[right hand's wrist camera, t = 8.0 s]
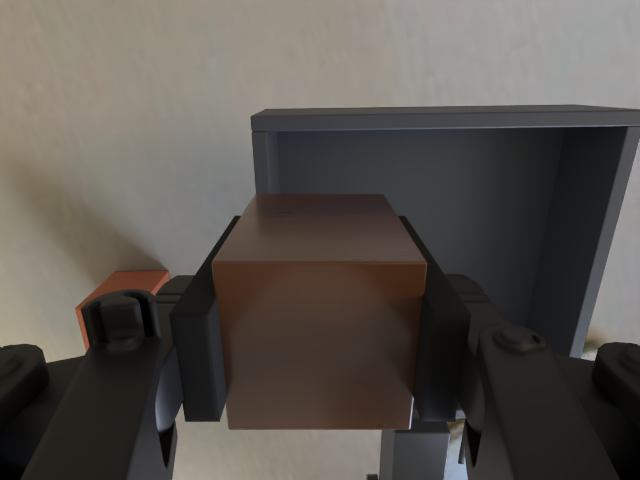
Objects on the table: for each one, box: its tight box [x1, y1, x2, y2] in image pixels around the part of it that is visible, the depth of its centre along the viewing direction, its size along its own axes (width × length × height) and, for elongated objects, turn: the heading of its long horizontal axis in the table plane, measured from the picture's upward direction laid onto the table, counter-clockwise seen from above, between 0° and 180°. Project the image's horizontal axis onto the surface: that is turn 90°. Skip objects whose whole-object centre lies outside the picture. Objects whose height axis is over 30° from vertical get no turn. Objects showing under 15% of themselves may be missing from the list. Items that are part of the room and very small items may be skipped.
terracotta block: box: [75, 271, 170, 351], centre depth 32 cm, size 4×4×6 cm
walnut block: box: [211, 194, 427, 430], centre depth 12 cm, size 4×4×6 cm
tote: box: [251, 105, 640, 480], centre depth 22 cm, size 27×15×6 cm, turn 1°
